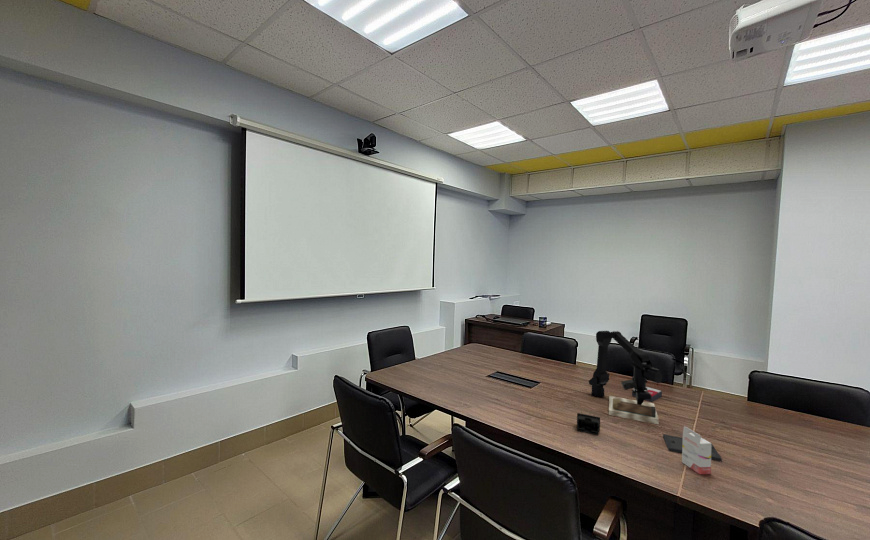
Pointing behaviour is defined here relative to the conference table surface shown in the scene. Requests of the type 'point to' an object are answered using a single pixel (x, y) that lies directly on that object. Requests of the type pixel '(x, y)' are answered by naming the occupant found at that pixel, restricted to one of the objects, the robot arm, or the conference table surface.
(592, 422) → the end cap
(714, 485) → the conference table surface
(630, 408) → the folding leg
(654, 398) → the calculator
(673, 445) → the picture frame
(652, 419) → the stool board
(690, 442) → the ink cartridge box
